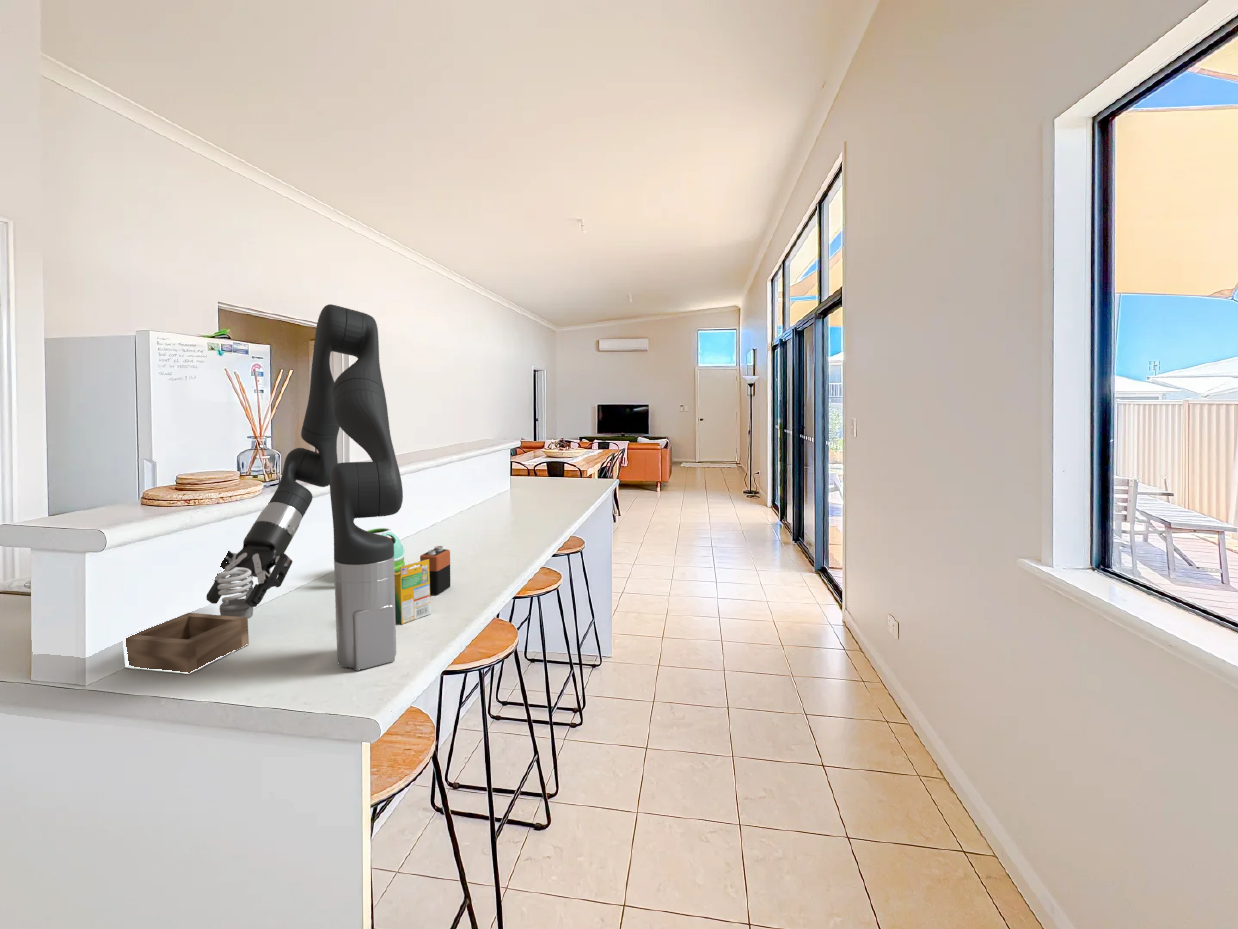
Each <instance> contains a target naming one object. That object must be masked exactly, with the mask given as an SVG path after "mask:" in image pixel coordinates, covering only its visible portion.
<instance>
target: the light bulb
mask: <svg viewBox="0 0 1238 929" xmlns="http://www.w3.org/2000/svg"><path fill="white" fill-rule="evenodd" d="M242 571H243V572H242ZM218 574H219V575H218V576H219V577H225V576H226V577H225V578H220V579H218V583H224V584H220V585H218V587H217V588H218V589H221V591H219V592H218V594H219V595H222V596H225V597H222V598H221V602H222V603H221V604H220V605H219V613H220V615H223V616H235V617H247V618H248V620H249V619H251V618H252V617H253V616H254V607H251V606H249V605H248V604H247V603H246V600H247V598H248V597H249V595H250V593H251V591H252V590H253V588H254V586H253V585H254V580H253V579H254V576H252V575H251V570H249V569H247V568H242V567H236V568H234V569H232V570H230V571H227V572H221V573H219V572H218ZM230 575H240V576H237V577H229V576H230ZM230 582H231V583H230ZM223 589H225V590H223ZM235 594H236V595H235ZM230 595H232V596H230ZM244 597H245V598H244Z"/></svg>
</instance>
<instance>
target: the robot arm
mask: <svg viewBox="0 0 1238 929" xmlns="http://www.w3.org/2000/svg"><path fill="white" fill-rule="evenodd" d="M316 323H317V324H316V327H315V328H316V329H315V334H314V343H313V352H312V360H311V370H310V384H309V393H308V399H307V400H308V401H307V406H306V410H305V413H304V414H305V415H304V418H303V422H302V427H301V431H300V437H301V439H302V440H303V441H304V442H305V443H307V444H308V445H310V446H312V447H314V449H316V450H317V451H318V452H317V451H313V450H310V449H307V448H304V447H296V448H294V449H292V450H290V451H289V453H288V454H287V455H286V457H285V460H284V464H283V469H282V473H281V477H280V481H279V483H278V485H277V488H276V490H275V492H274V494H273V495H272V497H271V498H270V500H269V501H270V502H269V501H268V505H267V504H266V506H265V507H264V508H263V509H262V511H261V512H259V513H260V514H259V515H258V516H257V518H256V520H255V522H253V524H252V526H251V527H250V529H249V531H248V532H247V534H246V536H245V537H244V539H243V543H242V544H243V545H242V548H241V549H240V550H239V551H238V552H236V553H235V552H231V551H230V550H229V551H228V553H227V555H226V557H225V558H224V560H223V561H222V563H221V566H220V567H222V568H223V569H225V570H224V571H223V572H227V571H230V570H232V569H234V568H236V567H242V568H247V569H249V570H251V575H252V576H253V578H257V583H258V584H257V583H256V584H254V586H253V590H252V591H251V593H250V595H249V597H248V598H247V600H246V603H247V604H248V605H249V606H251V607H253V608H256V607H257V606H258V605H259V604H260V603H261V602H262V600H263V598H264V596H266V593H267V591H268V590H270V589H271V588H273V587H275V588H279V587H281V586H282V584H283V582H284V580H285V578H286V576H287V574H288V572H289V570H290V568H291V566H292V565H293V560H292V559H291V558H290V557H289V556H288V555H287V554H286V551H287V549H288V547H289V545H290V543H291V542H292V540H293V538H294V536H295V535H296V533H297V531H298V529H299V527H300V524H301V522H302V519H303V518H304V516H305V514H306V513H307V511H308V509H309V508H310V506H311V503H312V502H313V497H314V496H313V494H312V492H311V491H310V490H309V489H308V488H307V487H305V486H304V485H303V484H300V483H298V482H297V481H299V482H302V483H305V484H309V485H313V486H316V487H318V488H325V487H328V486H329V492H330V506H331V516H332V525H333V526H332V528H333V565H334V566H333V568H334V569H333V571H334V572H333V573H334V575H333V576H334V599H335V600H334V602H335V603H334V605H335V606H334V608H335V635H336V636H335V637H336V638H335V639H336V657H337V658H336V659H337V660H336V661H337V664H338V663H339V664H338V665H339V666H341V667H343V666H344V668H347V667H349V668H348V669H354V670H355V669H356V670H355V671H360V670H359V669H362V670H364V669H369V668H373V667H376V666H380V665H381V666H382V665H384V664H388V663H391V662H392V663H393V662H394V661H396V655H397V629H396V628H397V627H396V626H397V625H396V624H397V623H396V621H395V579H394V543H393V541H392V540H391V539H390V538H391V537H389V536H387V537H386V536H383V535H378V534H374V533H370V532H367V531H365V529H362V528H361V527H359V526H357V525H356V523H355V519H362V518H363V519H366V518H377V517H378V518H380V517H387V516H393V515H395V514H397V513H399V511H400V510H401V509H402V504H403V500H404V496H403V494H404V492H403V482H402V478H401V472H400V468H399V464H398V459H397V457H396V452H395V449H394V445H393V441H392V436H391V428H390V421H389V413H388V404H387V397H386V392H385V388H384V382H383V378H382V372H381V371H382V370H381V366H380V364H381V363H380V348H379V347H380V346H379V345H380V344H379V343H380V342H379V329H378V323H377V321H376V320H375V318H374V317H373V316H371V315H370V314H368V313H366V312H363V311H360V310H359V311H358V310H354V309H351V308H349V307H343V306H339V305H337V304H330V303H329V304H326V305H325V306H324V307H322V309H321V310H320V313H319V316H318V319H317V322H316ZM332 352H334V353H338V354H343V355H348V356H352V357H355V358H356V359H357V360H355V362H353V363H352V364H351V365H350V366H348V367H347V368H346V369H345V370H343V371H342V372H341V373H340V374H339V376H337V378H336V379H335V380H334V377H333V374H332V370H331V364H330V363H331V360H330V358H331V353H332ZM340 429H341V431H343V432H344V433H345V434H346V435H347V436H348V437H350V439H352V441H354V442H355V443H356V444H357V445H358V446H360V447H361V448H362V449H363V450H364V451H365V452H366V453H367V455H368V456H369V457H370V460H371V461H354V462H353V461H350V462H349V461H348V462H339V461H338V436H339V431H340ZM388 537H389V538H388ZM226 562H227V563H226ZM272 568H273V569H272ZM271 569H272V571H271ZM242 572H243V571H242ZM218 575H219V573H217V576H216V577H215V580H213V584H212V586H211V587H210V589H209V590H208V592H207V593H206V600H207V601H208V602H209V603H210V604H218V602H220V599H221V597H222V596H223V595H219V594H218V592H219V591H221V589H218V588H217V587H218V585H220V584H224V583H218V579H220V578H225V577H227V576H225V577H219V576H218ZM237 576H240V575H228V577H237ZM230 583H232V582H230ZM223 590H225V589H223Z"/></svg>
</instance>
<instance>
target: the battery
mask: <svg viewBox="0 0 1238 929" xmlns="http://www.w3.org/2000/svg"><path fill="white" fill-rule="evenodd" d="M427 559H429V576H430V596H438V595H440V594H441V593H443V592H445V591H446V590H448V589H449V588H451V550H449V549H446V548H445V549H444V546H443V545H437V546H436V545H435V546H434V547H433V549H431V550H428V551H427V552H425V553H423V554H421V555H420V556H419V562H420V561H424V560H427ZM419 566H421V565H419ZM444 590H445V591H444Z"/></svg>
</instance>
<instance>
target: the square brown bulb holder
mask: <svg viewBox="0 0 1238 929" xmlns="http://www.w3.org/2000/svg"><path fill="white" fill-rule="evenodd" d="M161 623H162V624H161ZM161 623H158V624H159V625H158V624H156V626H155V625H153V626H154V627H153V626H150V627H151V628H150V627H147V628H148V629H147V628H145V629H146V630H145V629H143V630H144V631H142V630H140V631H141V632H140V631H138V632H139V633H137V632H136V633H137V634H135V635H132V634H131V635H132V636H130V637H128V638H126V647H127V652H128V653H127V654H128V661H129V665H131V666H134V667H140V668H147V669H148V668H149V669H162V670H172V671H180V672H188V673H190V672H191V671H193V670H195V669H198V668H199V667H201V666H203V665H205V664H206V663H208V662H211V661H213V660H215V659H216V658H218V657H220V656H224V655H226V654H227V653H229V652H232V651H233V650H237V649H239V648H241V647H243V646H245V645H246V644H249V645H250V642H249V640H250V639H249V638H250V636H249V619H248V618H247V617H235V616H223V615H219V614H210V613H209V614H208V613H198V612H197V613H195V612H187V613H184V614H182V615H179V616H177V618H176V617H175V618H171V619H169V621H168V620H166V621H164V623H163V622H161Z"/></svg>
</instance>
